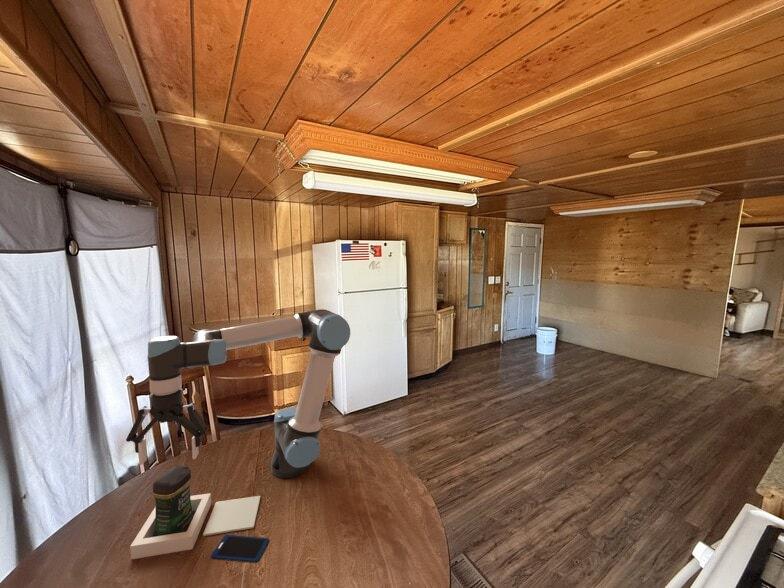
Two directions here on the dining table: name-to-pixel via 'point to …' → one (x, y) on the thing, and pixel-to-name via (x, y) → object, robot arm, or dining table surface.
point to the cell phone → (240, 548)
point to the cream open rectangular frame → (172, 542)
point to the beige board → (232, 515)
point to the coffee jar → (173, 501)
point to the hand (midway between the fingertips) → (169, 459)
